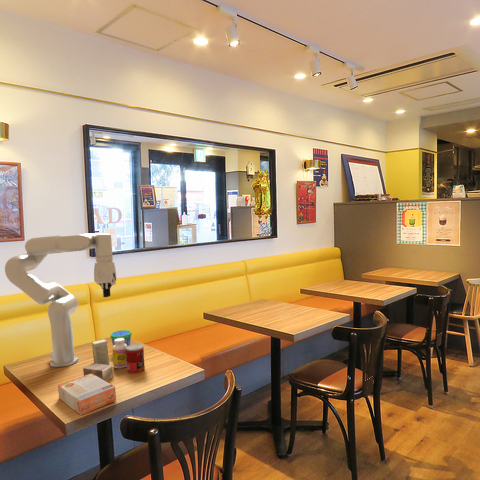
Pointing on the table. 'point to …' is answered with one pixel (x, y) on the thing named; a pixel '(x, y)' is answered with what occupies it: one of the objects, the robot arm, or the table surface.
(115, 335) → the snack cup
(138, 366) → the canned food
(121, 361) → the supplement bottle
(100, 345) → the skincare box
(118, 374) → the table surface
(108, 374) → the walnut block
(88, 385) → the cracker box
